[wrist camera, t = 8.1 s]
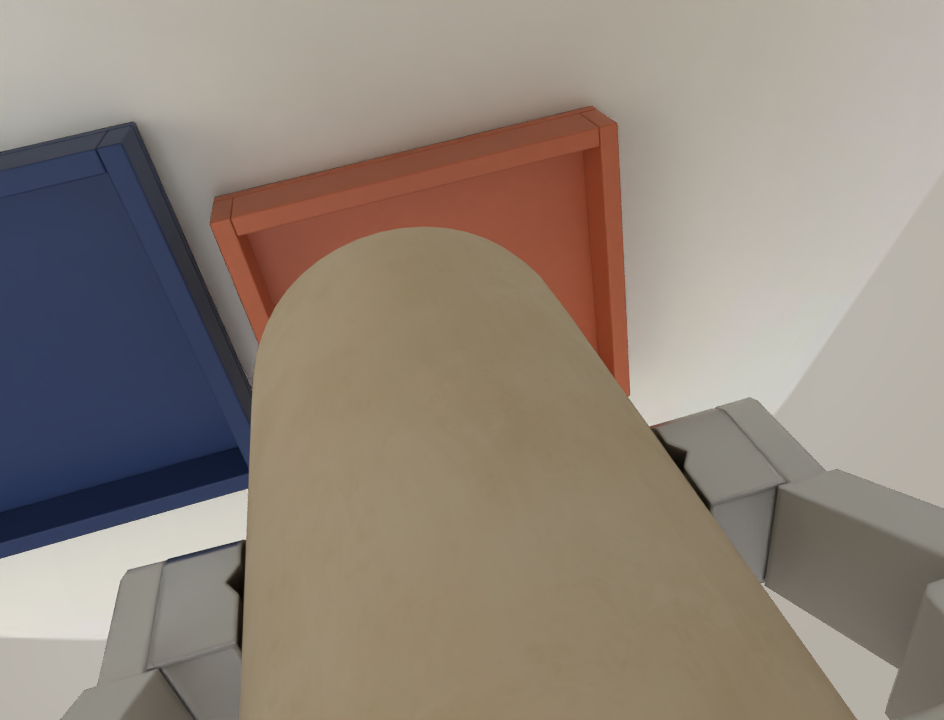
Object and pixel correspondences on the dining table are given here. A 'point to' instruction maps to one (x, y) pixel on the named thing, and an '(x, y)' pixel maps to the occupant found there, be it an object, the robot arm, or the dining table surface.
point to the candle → (482, 516)
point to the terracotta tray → (455, 216)
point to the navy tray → (106, 348)
